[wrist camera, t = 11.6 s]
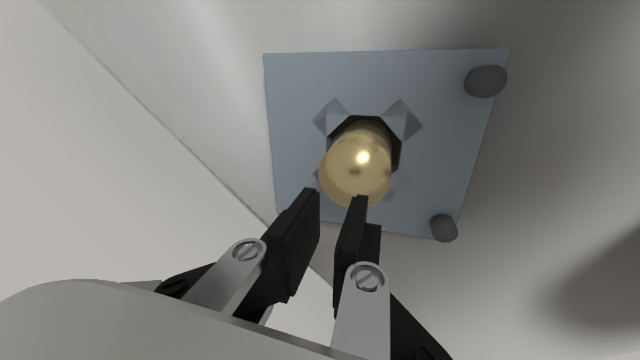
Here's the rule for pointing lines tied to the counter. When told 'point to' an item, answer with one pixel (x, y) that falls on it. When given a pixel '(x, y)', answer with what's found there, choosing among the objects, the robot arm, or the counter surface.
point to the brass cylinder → (357, 164)
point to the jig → (398, 113)
